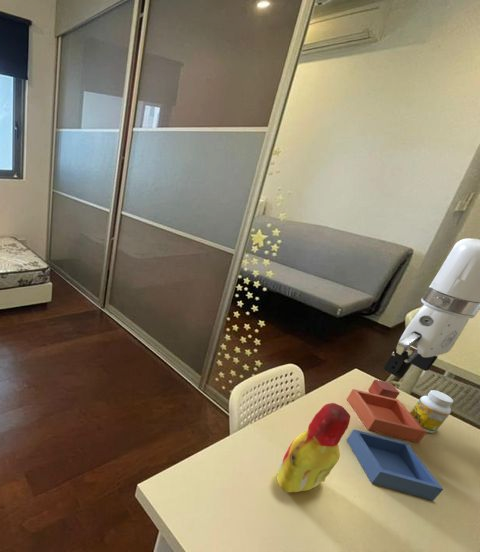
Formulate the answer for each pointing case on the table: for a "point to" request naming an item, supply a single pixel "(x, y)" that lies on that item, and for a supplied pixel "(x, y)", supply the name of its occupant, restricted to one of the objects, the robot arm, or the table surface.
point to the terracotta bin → (385, 416)
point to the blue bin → (393, 465)
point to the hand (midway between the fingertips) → (405, 370)
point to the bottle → (314, 450)
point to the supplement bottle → (432, 410)
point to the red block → (383, 389)
